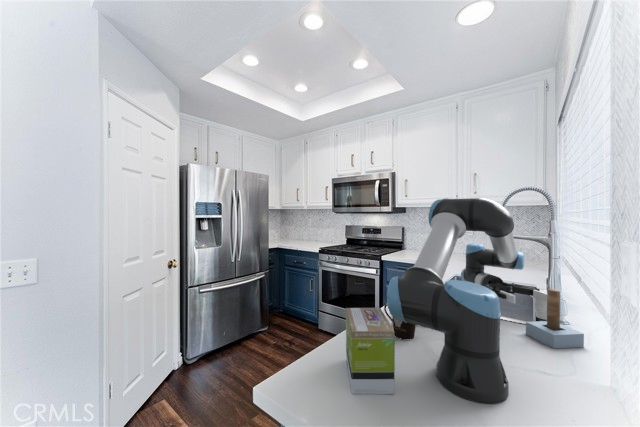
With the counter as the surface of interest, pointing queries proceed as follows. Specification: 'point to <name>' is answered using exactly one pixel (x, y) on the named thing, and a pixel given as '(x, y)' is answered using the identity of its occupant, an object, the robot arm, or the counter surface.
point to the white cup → (541, 307)
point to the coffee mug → (402, 327)
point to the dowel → (553, 309)
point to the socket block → (555, 335)
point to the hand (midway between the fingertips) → (532, 299)
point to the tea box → (370, 351)
